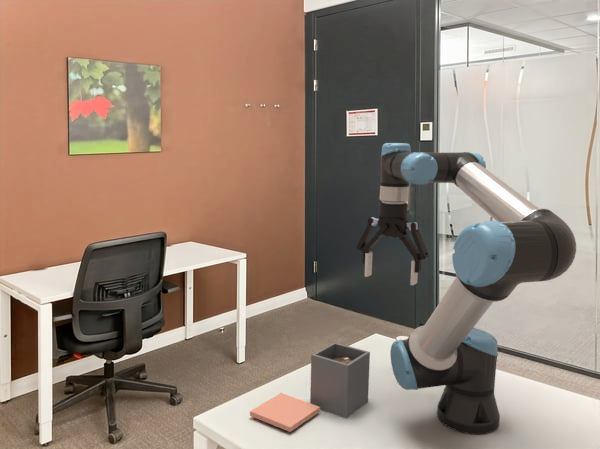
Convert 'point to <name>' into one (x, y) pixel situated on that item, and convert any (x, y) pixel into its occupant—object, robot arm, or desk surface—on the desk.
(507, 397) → the desk surface
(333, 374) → the bin
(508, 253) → the robot arm
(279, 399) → the lid
